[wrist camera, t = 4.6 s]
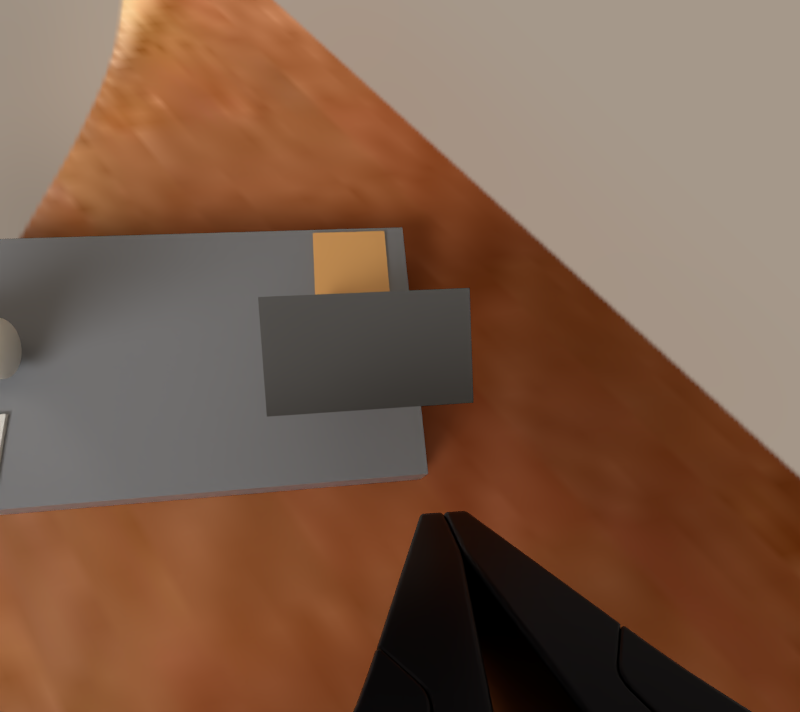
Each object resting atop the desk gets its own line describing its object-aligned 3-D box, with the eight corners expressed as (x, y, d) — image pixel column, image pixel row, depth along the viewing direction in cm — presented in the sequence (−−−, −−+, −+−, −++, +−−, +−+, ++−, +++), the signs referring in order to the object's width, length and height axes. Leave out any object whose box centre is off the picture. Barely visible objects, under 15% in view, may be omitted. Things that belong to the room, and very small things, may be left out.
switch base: (420, 479, 18) (428, 473, 16) (-76, 521, 16) (-139, 521, 14) (398, 254, 20) (402, 225, 18) (-25, 269, 19) (-71, 239, 17)
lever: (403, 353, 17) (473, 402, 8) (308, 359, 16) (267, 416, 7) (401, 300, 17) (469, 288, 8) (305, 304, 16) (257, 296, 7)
